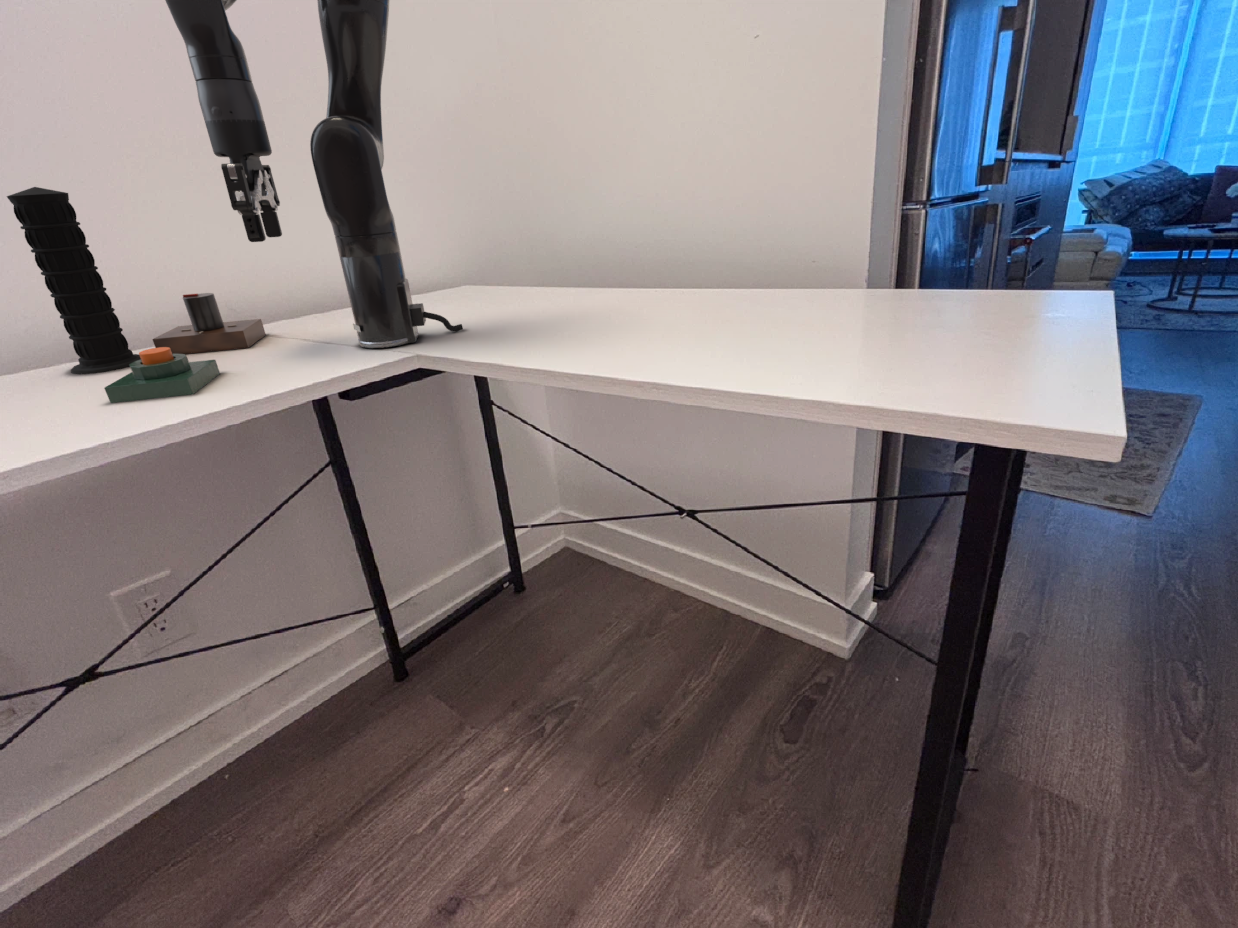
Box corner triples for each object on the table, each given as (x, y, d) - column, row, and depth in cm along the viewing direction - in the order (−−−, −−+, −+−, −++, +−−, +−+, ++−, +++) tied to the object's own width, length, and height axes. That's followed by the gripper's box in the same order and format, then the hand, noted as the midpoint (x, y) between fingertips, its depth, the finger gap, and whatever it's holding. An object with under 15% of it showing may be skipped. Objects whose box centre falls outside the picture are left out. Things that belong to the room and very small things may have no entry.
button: (179, 358, 87) (174, 345, 87) (167, 364, 84) (163, 352, 83) (150, 360, 87) (146, 348, 86) (138, 367, 84) (133, 355, 83)
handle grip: (54, 374, 97) (106, 375, 95) (-32, 190, 86) (25, 186, 84) (112, 356, 106) (161, 356, 104) (42, 187, 94) (95, 183, 92)
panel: (266, 334, 115) (260, 317, 114) (248, 348, 106) (242, 329, 105) (183, 342, 113) (177, 325, 112) (158, 356, 104) (151, 338, 103)
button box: (220, 373, 92) (211, 347, 91) (193, 394, 83) (182, 365, 82) (146, 381, 91) (135, 354, 89) (110, 403, 82) (98, 374, 80)
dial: (228, 323, 111) (217, 290, 108) (218, 329, 107) (207, 294, 104) (200, 326, 110) (188, 292, 107) (189, 332, 106) (177, 297, 103)
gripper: (246, 113, 83) (279, 242, 90) (277, 122, 96) (304, 233, 103) (184, 115, 82) (223, 245, 89) (224, 123, 94) (255, 236, 101)
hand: (266, 239), depth 96 cm, fingers open, 8 cm apart
